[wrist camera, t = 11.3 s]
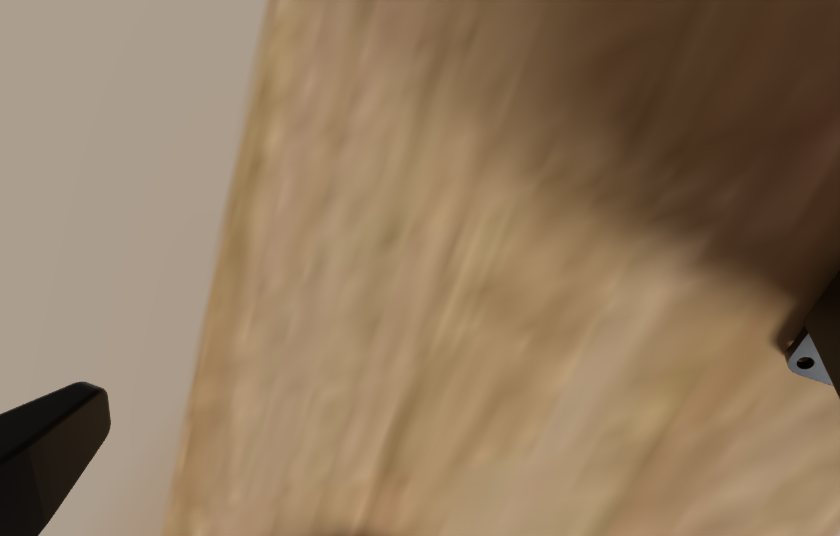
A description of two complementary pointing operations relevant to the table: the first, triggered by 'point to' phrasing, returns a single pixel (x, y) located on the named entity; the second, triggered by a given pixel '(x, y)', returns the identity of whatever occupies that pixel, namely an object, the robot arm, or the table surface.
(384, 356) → the table surface
